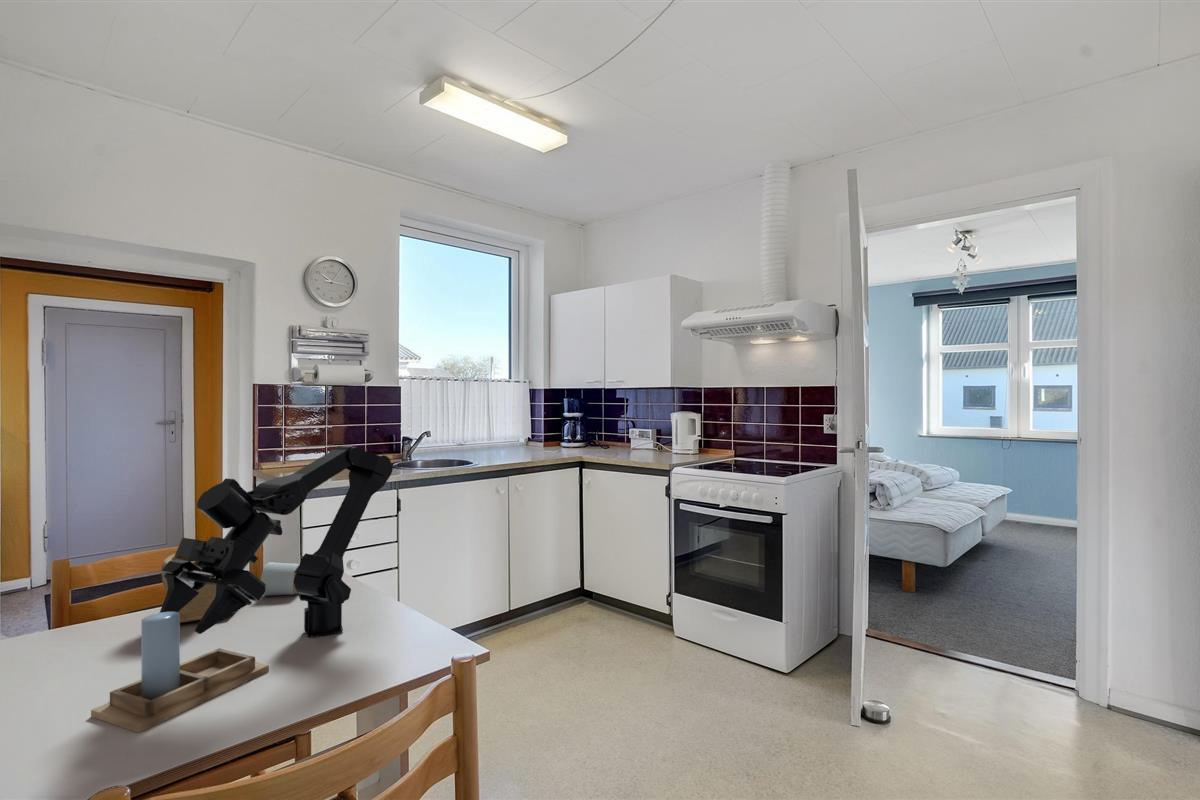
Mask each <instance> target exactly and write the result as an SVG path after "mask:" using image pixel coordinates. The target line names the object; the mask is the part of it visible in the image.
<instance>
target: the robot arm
mask: <svg viewBox="0 0 1200 800" xmlns="http://www.w3.org/2000/svg"><path fill="white" fill-rule="evenodd" d="M393 469H394V468H393V464H392V462H391V459H390V458H389V457H388V456H387V455H382V454H377V453H373V452H369V451H366V450H363V449H362V448H359V447H357V446H356V445H355V446H354V445H342V444H341V445H338V446H335V447H334V448H333V449H332V450H330V451H329V452H327V453H326V454H324V455H322V456H320V457H319V458H317V459H315V460H314V461H312V462H310V463H309V464H307V465H305V466H303V467H302V468H300V469H299V470H297V471H295V472H293V473H290V474H287V475H284V476H278V477H274V478H272V479H270V480H265V481H264V482H263V481H262V482H260V483H259V484H258V485H256V486H255V487H254V489H252V490H249V491H246V490H245V489H244V488H243V487H242V486H241V485H240V483H239V482H238V481H237V480H236V479H234V478H228V477H227V478H224V480H223V481H222V482H220V483H217V484H215V485H214V486H212V487H211V488H209V489H208V490H207V491H204V492H202V494H201V495H200V496H199V498H198V500H197V502H196V508H197V509H199V511H201V512H202V513H203V514H204V515H206V516H207V518H209V519H210V520H211V521H212V522H214V523H216V524H217V526H219V527H220V528H222V529H230V530H229V531H228V532H227V534H225V536H224V537H223V538H222V537H217V536H210V537H209V539H207V540H202V539H196V538H195V539H194V538H187V537H181V540H180V542H179V543H178V544H179V545H178V547H177V549H176V552H175V553H174V554H175V556H174V557H177V558H181V557H184V558H186V559H191V560H196V561H195V562H194V564H196V565H197V566H199V567H201V568H202V569H200V568H198V567H197V566H196V565H194V564H193V563H192V562H190V561H185V560H179V559H176V560H172V561H169V562H168V563H167V564H166V566H165V567H164V568H163V569H162V570H161V569H160V572H161V571H162V572H163V573H164V579H166V580H167V585H168V590H167V592H166V593H165V597H164V600H163V603H162V605H161V608H160V610H159V613H161V612H179V611H180V610H181V609H182V608H183V607H184V606H185V605H187V604H188V603H189V602H190V601H191V600H192V599H193V598H195V597H196V596H197V595H198V594H199V592H197V591H196V590H199V589H200V588H202V587H204V585H205V584H211V585H216V596H215V599H214V600H213V602H212V603H211V605H210V606H209V608H208V609H207V611H206V612H205V614H204V615H203V617H202V618H201V620H199V622H198V624H197V625H196V628H194V632H195V633H196V634H199V635H201V634H203V633H204V632H206V631H208V630H209V629H210V628H212V627H214V626H215V625H217V624H218V623H220V622H221V621H223V620H224V619H226V618H228V617H229V616H231V615H233V614H235V613H236V612H238V611H240V610H241V609H243V608H244V607H246V606H250V605H252V604H253V602H257V603H259V602H260V601H261V600H262V598H263V597H264V596H265V595H264V594H265V592H266V584H265V583H264V582H262V581H261V578H259V577H257V576H256V575H255V574H254V573H252V572H251V571H250V570H245V568H246V567H247V566H248V564H249V563H250V564H255V563H256V562H257V560H259V558H258V556H256V555H255V554H256V553H257V552H258V550H259V549H260V548H261V547H262V545H263V543H264V542H265V541H266V540H267V538H268V537H269V535H275V536H282V535H283V528H282V525H281V522H282V521H281V520H280V519H273V518H271V517H270V516H269V515H268V514H272V515H280V516H288V515H290V514H292V513H293V512H295V511H296V509H297V508H299V507H300V506H301V505H302V504H303V503H304V502H306V499H307V496H308V494H309V493H311V492H312V491H313V490H315V489H317V488H318V487H320V486H321V485H322V484H324V483H326V482H327V481H329V480H330V479H332V478H333V477H335V476H336V475H338V474H340V473H341V472H342V471H344V470H347V471H349V473H348V482H349V483H348V485H349V488H348V490H347V492H346V494H345V497H344V499H343V501H342V502H341V504H340V505H339V508H338V510H337V512H336V514H335V516H334V518H333V520H332V522H331V525H330V527H329V528H328V530H327V532H326V535H325V537H324V538H323V540H322V543H321V544H320V546H319V548H318V549H317V550H316V551H314V553H312V554H311V553H304V554H303V556H302V557H301V560H300V563H299V566H298V568H297V569H296V570H295V571H294V573H296V575H295V578H294V582H293V583H294V585H295V589H296V591H297V592H298V593H297V595H298V597H299V600H300V601H302V602H307V605H306V606H307V607H304V610H303V631H304V633H306V636H307V638H315V637H321V636H322V637H323V636H327V634H328V635H333V633H334V634H339V633H338V632H340V633H343V632H344V629H343V625H342V623H343V619H342V617H343V614H342V613H343V610H342V609H343V608H342V607H343V604H344V603H345V602H346V601H348V600H349V599H350V595H351V591H352V588H351V587H350V586H349V585H347V583H346V582H344V580H342V578H343V576H344V572H345V567H344V559H343V558H344V555H345V553H346V551H347V549H348V547H349V545H350V542H351V540H352V538H353V536H354V534H355V532H356V530H357V528H358V525H359V523H360V521H361V519H362V517H363V515H364V512H365V511H366V508H367V507H368V505H369V502H370V501H371V498H372V496H373V495H374V494H376V493H377V492H378V491H379V490H381V489H382V488H383V487H384V486H385V485H386V483H387V482H388V480H389V479H390V477H391V476H392V472H393ZM210 577H211V578H210ZM234 612H235V613H234ZM232 613H233V614H232ZM342 631H343V632H342Z"/></svg>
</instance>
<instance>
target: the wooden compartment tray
mask: <svg viewBox="0 0 1200 800" xmlns="http://www.w3.org/2000/svg"><path fill="white" fill-rule="evenodd" d="M269 671H270V665H269V664H267V663H264V662H259V661H256V656H253V655H250V654H249V655H248V654H245V653H244V654H243V653H241V652H240V653H239V652H236V651H231V650H228V649H223V648H217V649H215V650H212V651H209V652H207V653H204V654H201V655H199V656H196V657H194V658H192V659H189V660H186V661H183V662H182V663H180V688H178V689H176V690H173V691H171V692H169V693H166V694H164V695H162V696H159V697H157V698H155V699H153V700H148V699H145V698H141V679H139V680H136V681H135V682H134V681H133V682H132V683H129V684H126V685H124V686H122V687H118V688H116V689H114V690H112V691H110V692H109V702H107V703H104V704H102V705H99V706H97V707H95V708H92V709H91V710H90V717H91V718H93V717H94V718H93V719H96V718H97V720H99V719H100V721H102V720H103V722H105V721H106V722H105V723H108V724H112V725H115V726H117V727H121V728H123V729H126V730H130V731H133V732H136V733H141V732H143V731H145V730H147V729H149V728H151V727H154V726H155V725H158V724H160V723H162V722H164V721H166V720H168V719H171V718H173V717H174V716H177V715H179V714H181V713H183V712H185V711H187V710H189V709H191V708H193V707H195V706H198V705H200V704H202V703H204V702H206V701H209V700H211V699H212V698H214V697H216V696H219V695H221V694H223V693H224V692H227V691H230V690H231V689H233V688H236V687H238V686H240V685H242V684H244V683H247V682H248V681H250V680H252V679H254V678H257V677H259V676H261V675H263V674H265V673H268V672H269Z"/></svg>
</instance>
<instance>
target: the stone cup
mask: <svg viewBox="0 0 1200 800" xmlns="http://www.w3.org/2000/svg"><path fill="white" fill-rule="evenodd" d="M174 556H175V553H173V554H171V555H169V556H167V558H165V559H164V560H163V561H162V564H161V567H160V572H161V573H160V574H161V579H162V585H163V587H164V589H165V592H166V593H167V590H168V585H167V580H166V579H164V573H163V572H162V571H161V570H162V569H163V568H164V567H165V566H166V564H167V563H168V562H169V561H172V560H176V559H179V560H185V561H190V562H192V563H193V564H194V562H195V561H196V560H191V559H186V558H184V557H181V558H177V557H174ZM194 565H196V564H194ZM196 566H197V565H196ZM197 567H198V568H200V569H202V568H201V567H199V566H197ZM210 578H211V577H210ZM196 591H197V592H199V594H198V595H197V596H196V597H195V598H193V599H192V600H191V601H190V602H189V603H188V604H187V605H185V606H184V607H183V608H182V609H181V610H180V611H179V612H178V613H180V624H181V623H187V622H195V621H200V620H201V618H202V617H203V615H204V614H205V612H206V611H207V609H208V608H209V606H210V605H211V603H212V602H213V600H214V599H215V596H216V585H211V584H205V585H204V587H202V588H200V589H199V590H196ZM235 613H236V612H234V613H232V614H231V615H233V614H235Z"/></svg>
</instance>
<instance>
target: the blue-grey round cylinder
mask: <svg viewBox="0 0 1200 800" xmlns="http://www.w3.org/2000/svg"><path fill="white" fill-rule="evenodd" d="M180 626H181V623H180V613H178V612H161V613H160V612H157V613H153V614H150V615H147V616H145V617H143V618H142V619H141V640H140V641H141V643H140V644H141V663H140V664H141V668H140V671H141V673H140V674H141V675H140V676H141V677H140V678H141V679H140V680H141V698H145V699H148V700H153V699H155V698H157V697H159V696H162V695H164V694H166V693H169V692H171V691H173V690H176V689H178V688H180V664H181V663H180V662H181V661H180V660H181V655H180V654H181V653H180V652H181V650H180V649H181V648H180V646H181V644H180V643H181V638H180V637H181V633H180V632H181V631H180V629H181V627H180Z"/></svg>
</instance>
